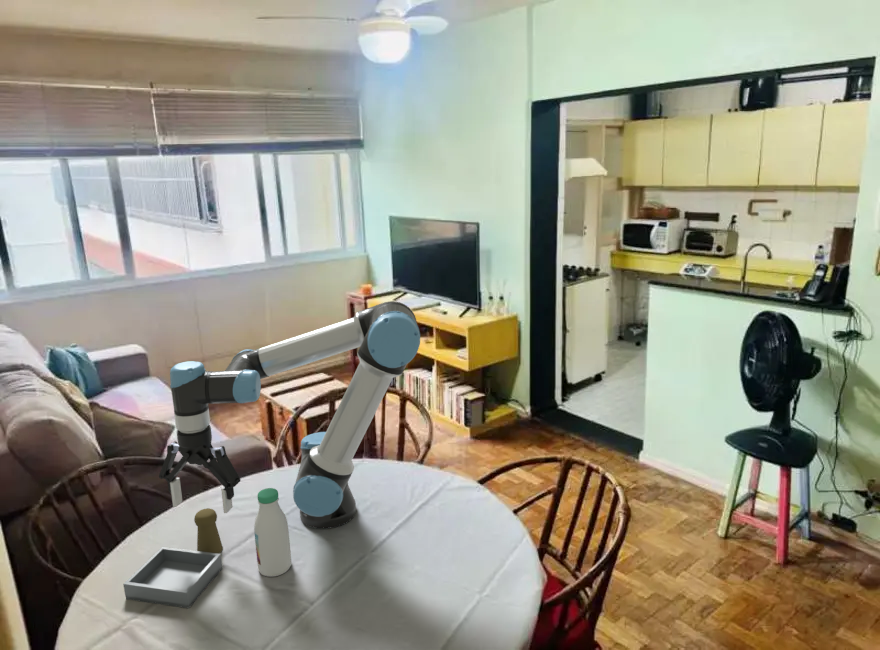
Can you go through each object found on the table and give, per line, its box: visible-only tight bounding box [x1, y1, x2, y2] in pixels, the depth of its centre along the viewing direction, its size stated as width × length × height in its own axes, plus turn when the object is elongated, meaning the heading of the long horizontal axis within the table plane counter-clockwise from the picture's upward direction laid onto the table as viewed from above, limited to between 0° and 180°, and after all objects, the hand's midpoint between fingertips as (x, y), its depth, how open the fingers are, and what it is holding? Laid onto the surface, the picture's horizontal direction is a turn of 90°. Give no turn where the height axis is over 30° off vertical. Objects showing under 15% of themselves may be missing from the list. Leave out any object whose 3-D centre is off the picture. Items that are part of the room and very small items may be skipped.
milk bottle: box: [253, 487, 292, 578], centre depth 143 cm, size 8×8×20 cm
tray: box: [123, 546, 223, 609], centre depth 140 cm, size 16×14×4 cm
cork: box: [193, 508, 224, 554], centre depth 150 cm, size 6×6×11 cm
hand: (202, 507), depth 149 cm, fingers open, 13 cm apart
